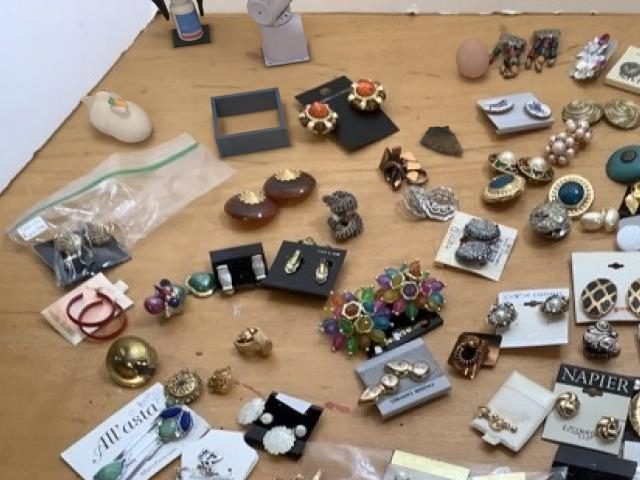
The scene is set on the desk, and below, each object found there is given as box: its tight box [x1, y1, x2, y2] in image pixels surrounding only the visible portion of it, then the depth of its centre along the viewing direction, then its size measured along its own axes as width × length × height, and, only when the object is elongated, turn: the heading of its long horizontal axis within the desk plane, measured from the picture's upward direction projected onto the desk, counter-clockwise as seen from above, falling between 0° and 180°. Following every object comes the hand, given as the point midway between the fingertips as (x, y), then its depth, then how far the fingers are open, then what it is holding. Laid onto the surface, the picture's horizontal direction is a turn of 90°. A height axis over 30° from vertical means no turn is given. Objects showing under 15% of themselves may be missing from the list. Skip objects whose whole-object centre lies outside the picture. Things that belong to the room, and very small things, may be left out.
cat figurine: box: [80, 87, 153, 144], centre depth 160 cm, size 10×8×15 cm
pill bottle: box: [168, 0, 203, 41], centre depth 179 cm, size 6×5×10 cm
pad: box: [171, 23, 212, 48], centre depth 183 cm, size 8×7×1 cm
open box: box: [209, 86, 291, 159], centre depth 162 cm, size 14×14×4 cm
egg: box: [455, 37, 490, 79], centre depth 173 cm, size 7×7×8 cm
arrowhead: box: [419, 125, 464, 155], centre depth 162 cm, size 7×10×1 cm
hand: (185, 16), depth 179 cm, fingers open, 7 cm apart
